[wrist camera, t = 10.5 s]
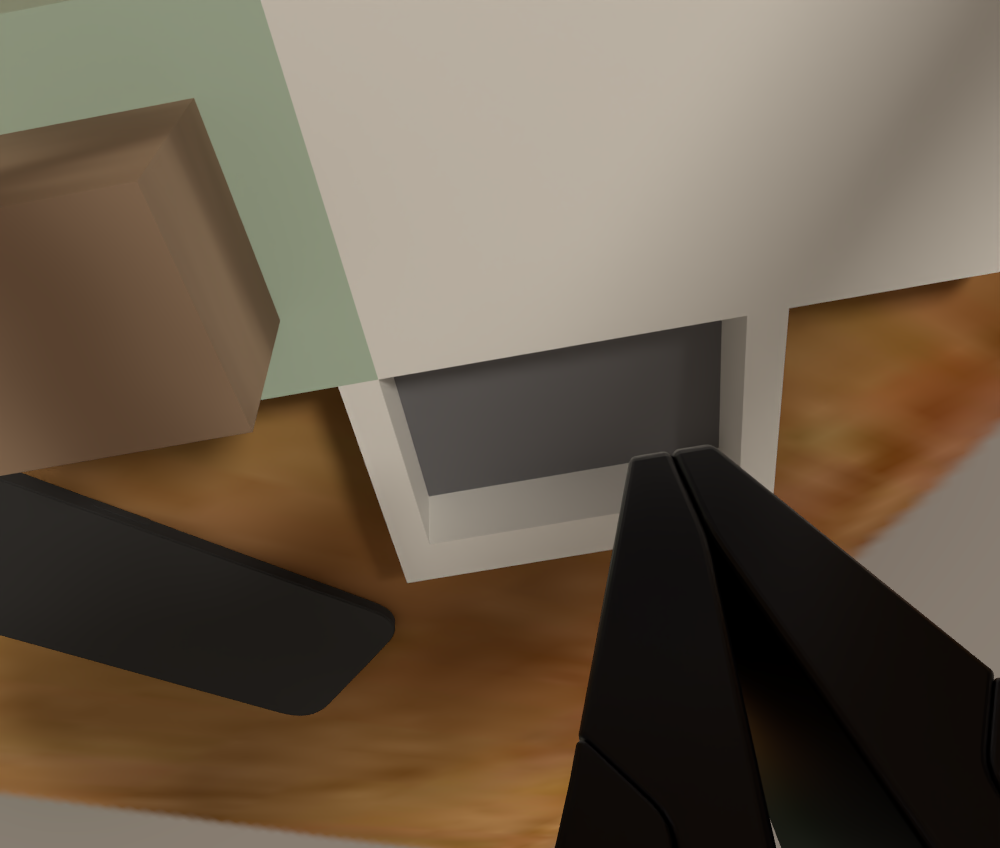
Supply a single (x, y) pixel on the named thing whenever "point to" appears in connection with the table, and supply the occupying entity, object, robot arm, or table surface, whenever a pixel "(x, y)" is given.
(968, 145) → the box
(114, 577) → the phone
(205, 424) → the walnut block
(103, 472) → the table surface
